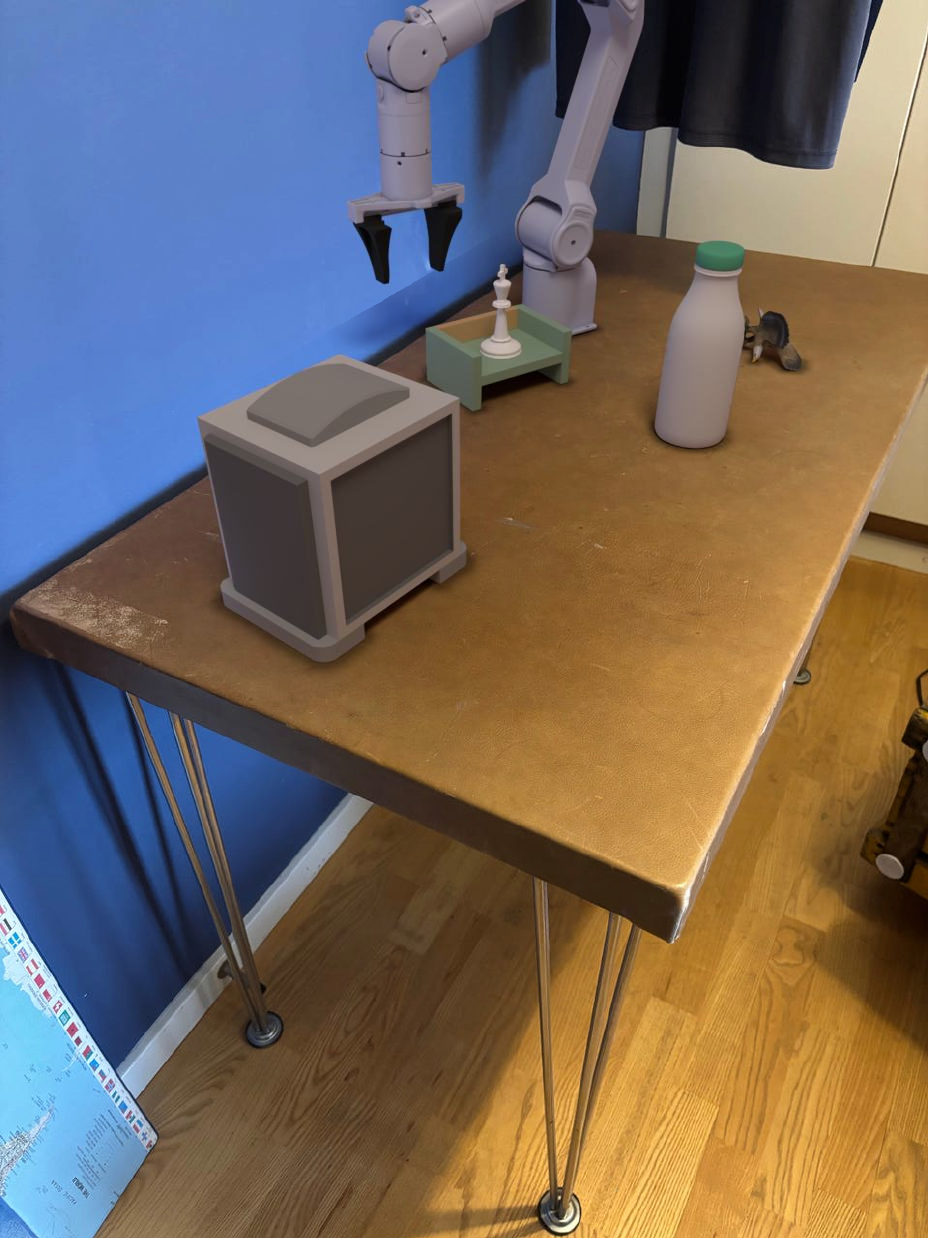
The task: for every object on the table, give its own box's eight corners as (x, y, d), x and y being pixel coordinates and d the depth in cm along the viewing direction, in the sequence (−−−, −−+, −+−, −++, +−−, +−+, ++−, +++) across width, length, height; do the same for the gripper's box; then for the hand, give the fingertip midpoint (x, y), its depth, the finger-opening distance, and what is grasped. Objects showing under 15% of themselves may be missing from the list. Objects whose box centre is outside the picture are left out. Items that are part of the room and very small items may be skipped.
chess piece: (472, 354, 107) (473, 267, 101) (491, 339, 110) (492, 254, 104) (510, 362, 105) (513, 275, 99) (528, 347, 109) (532, 261, 102)
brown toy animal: (715, 351, 115) (780, 359, 109) (734, 294, 114) (801, 299, 108) (742, 368, 120) (806, 377, 114) (760, 314, 119) (825, 321, 113)
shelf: (519, 353, 117) (521, 303, 113) (568, 382, 110) (572, 329, 106) (426, 380, 111) (425, 328, 107) (472, 411, 104) (473, 357, 100)
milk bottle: (725, 453, 97) (764, 262, 84) (652, 446, 98) (680, 256, 85) (724, 420, 103) (761, 236, 90) (655, 413, 104) (681, 231, 91)
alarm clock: (367, 510, 88) (352, 326, 77) (472, 560, 82) (473, 367, 70) (216, 601, 78) (172, 402, 66) (324, 667, 71) (297, 460, 59)
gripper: (365, 167, 95) (373, 297, 104) (480, 149, 101) (478, 273, 110) (334, 153, 99) (344, 279, 108) (445, 136, 106) (447, 256, 114)
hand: (410, 275), depth 109 cm, fingers open, 7 cm apart
